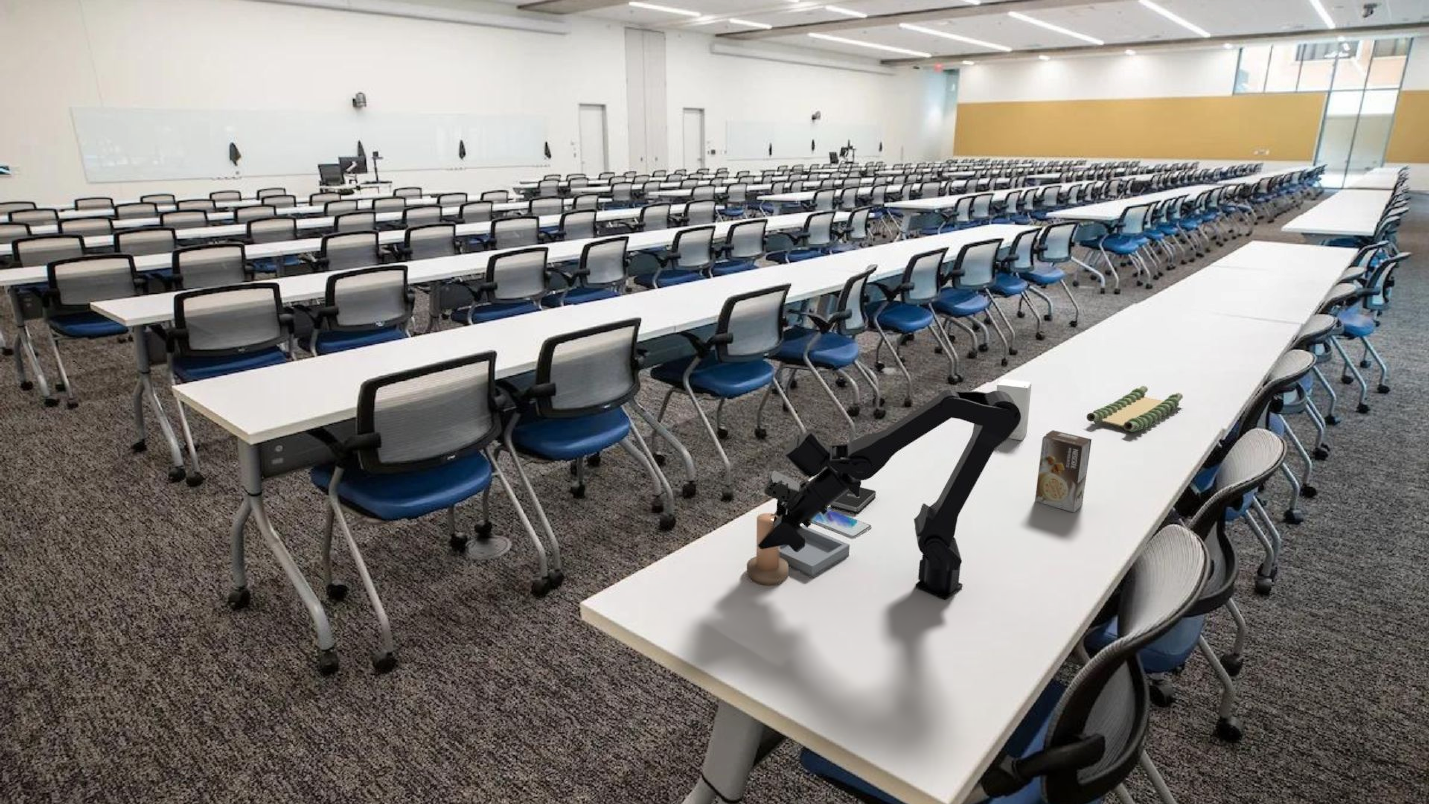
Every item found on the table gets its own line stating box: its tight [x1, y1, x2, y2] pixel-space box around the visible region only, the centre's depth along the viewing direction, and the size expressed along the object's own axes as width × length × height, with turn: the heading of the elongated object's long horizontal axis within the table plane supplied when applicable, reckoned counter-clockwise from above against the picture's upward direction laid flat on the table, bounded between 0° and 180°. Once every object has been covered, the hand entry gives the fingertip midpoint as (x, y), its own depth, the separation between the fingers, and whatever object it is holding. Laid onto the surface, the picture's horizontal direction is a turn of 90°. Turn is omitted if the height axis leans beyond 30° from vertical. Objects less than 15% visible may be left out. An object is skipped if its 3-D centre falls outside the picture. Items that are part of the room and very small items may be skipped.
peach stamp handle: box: [755, 512, 780, 571], centre depth 151 cm, size 4×4×10 cm
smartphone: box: [811, 508, 872, 539], centre depth 174 cm, size 7×1×15 cm
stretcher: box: [1086, 385, 1184, 433], centre depth 238 cm, size 41×14×5 cm, turn 133°
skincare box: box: [996, 378, 1032, 441], centre depth 222 cm, size 8×7×16 cm
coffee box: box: [1034, 430, 1093, 513], centre depth 180 cm, size 9×6×16 cm
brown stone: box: [746, 556, 789, 586], centre depth 153 cm, size 8×8×2 cm
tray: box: [779, 525, 851, 579], centre depth 159 cm, size 12×12×2 cm
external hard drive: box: [829, 486, 877, 515], centre depth 183 cm, size 7×11×2 cm, turn 146°
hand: (760, 541), depth 151 cm, fingers closed on peach stamp handle, 4 cm apart
